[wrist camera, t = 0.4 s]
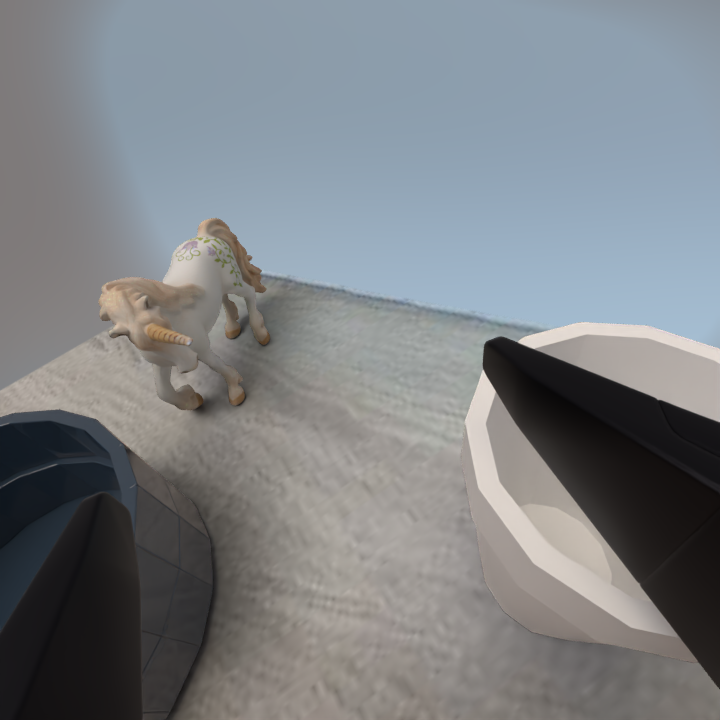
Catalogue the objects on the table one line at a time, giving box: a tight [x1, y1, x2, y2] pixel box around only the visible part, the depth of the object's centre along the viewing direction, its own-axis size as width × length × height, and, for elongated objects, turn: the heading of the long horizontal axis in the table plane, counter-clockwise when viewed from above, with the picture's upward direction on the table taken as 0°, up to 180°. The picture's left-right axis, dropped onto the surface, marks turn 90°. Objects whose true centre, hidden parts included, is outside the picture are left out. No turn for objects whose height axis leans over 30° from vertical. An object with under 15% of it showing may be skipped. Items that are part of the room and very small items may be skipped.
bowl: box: [0, 410, 213, 720], centre depth 19 cm, size 16×16×8 cm
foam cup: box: [461, 322, 720, 663], centre depth 16 cm, size 10×9×13 cm
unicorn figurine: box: [99, 218, 270, 410], centre depth 27 cm, size 7×20×13 cm, turn 11°
